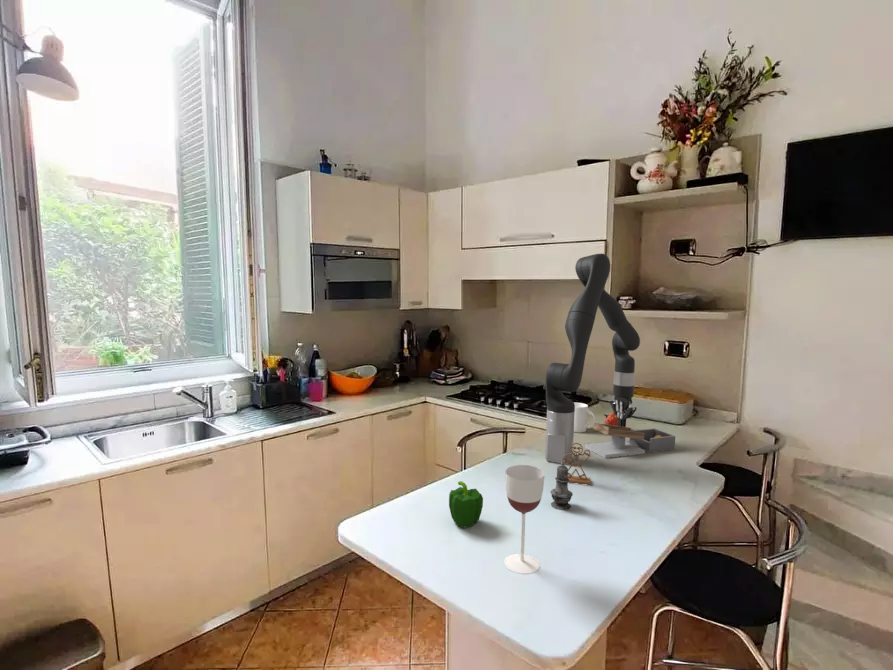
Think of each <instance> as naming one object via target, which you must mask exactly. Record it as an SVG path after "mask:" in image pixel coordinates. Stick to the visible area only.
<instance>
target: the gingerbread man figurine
mask: <svg viewBox="0 0 893 670" xmlns="http://www.w3.org/2000/svg"><path fill="white" fill-rule="evenodd" d="M574 445H578V447H576V446H574ZM572 446H573V447H572ZM571 448H573V451H572V449H571V452H572V453H568V454H566V455H565V456H567V455H570V454H571V455H573V458H575V459H574V460H575V462H574V463H573V462H572V461H573V460H572V458H570V459H569V460H571V462H569V460H568V459H565V458H564V457H565V456H564V457H563V460H565V461H568V462H567V463H565V462H564V461H563V463H564V465H568V464H569V463H570V466H569V467H568V479H569V481H568V482H571V483H570V484H574V483H578V484H577V485H582V484H587V485H586V486H591V477H588V476H587V474H586V473H585V471H584V470H583V467H582V462H585V461H588V459H590V457H591V450H589V449H584V447H583V445H582V444H581V443H579V442H573V444H572V445H571ZM576 449H577V450H578V451H576ZM583 450H584V451H583ZM587 452H588V453H587ZM584 455H585V456H587V457H586V458H584V459H580V460H579V461H580V464H578V462H577V461H578V458H580V456H581V457H582V456H584ZM572 467H577V468H580V470H581V471H582V473H583V474H580V473H579V471H578V469H577V468H574V470H573V472H572V473H570V472H569V471H570V469H571V468H572ZM575 472H576V473H577V475H578V476H577V475H574V474H575Z"/></svg>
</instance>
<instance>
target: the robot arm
mask: <svg viewBox="0 0 893 670" xmlns="http://www.w3.org/2000/svg"><path fill="white" fill-rule="evenodd" d="M574 269H575V275H577V278H578V279H579V281H580V282H581V284H582V286H583V287H584V289H583V290H582V292H580V294H579V296H578V297H577V298H576V299H575V301H574V302H573V303H572V304H571V306H570V307H569V310H568V314H567V317H566V321H565V325H564V329H565V333H566V336H567V339H568V342H569V344H570V348H571V359H570V363H561V362H551V363H550V364H549V365H548V366H547V368H546V371H545V372H546V373H545V403H546V426H545V428H546V429H545V455H544V456H545V457H546V458H545V457H544V458H545V460H546V462H548V461H552V462H551V463H554V462H557V463H556V464H560V463H563V461H564V462H565V463H567V462H568V461H565V460H563V457H564V456H565V455H566V454H568V453H572V452H571V449H572V451H573V450H574V449H573V448H571V445H572V444H573V443H574V433H575V432H574V415H575V404H574V403H575V402H574V401H572V400H571V399H569V398H567V396H565V394H564V393H563V392H566V393H567V392H568V393H575V392H577V391H578V389H579V388H580V385H581V382H582V378H583V373H584V366H585V361H586V355H587V354H586V353H587V352H588V351H587V349H588V346H589V342H590V338H591V334H592V332H593V328H594V324H595V320H596V316H597V311H598V309H600V312H601V314H602V316H603V318H604V320H605V322H606V324H607V327H608V328H609V329H610V330H611V331H613V332H615V333H614V334H613V336H612V341H611V345H612V351H613V356H614V359H615V360H614V373H613V374H614V375H613V383H612V384H613V388H612V394H613V396H614V398H613V400H610V401H609V403H610V406H611V409H612V411H613V412H612V413H614V414H615V415H617V417H618V426H621V427H627V419H631V418H632V416H633V415H634V414H635V412H636V411H637V407H635V406H634V405H633V399H632V398H633V397H634V395H635V378H636V377H635V367H636V365H635V364H636V363H635V358H634V357H632V356H631V355H630V353H629V352H632V351H637V350H638V348H639V347H640V345H641V344H640V343H641V337H640V336H639V333H638V331H637V330H636V329H635V328H634V326H633V325H632V324H631V322H630V321H628V319H627V317H626V315H625V312H624V310H623V307H622V306H621V304H620V303H619V301H617V299H615V298H614V297H613V296H612V295H611V294H610V293H608V291H606V290H605V286H606V284H607V281H608V278H609V275H610V272H611V262H610V258H609V257H608V255H607V254H605V253H595V254H591V255H586V256H583V257H579V259H577V260H576V262H575V267H574ZM572 447H574V445H573V446H572ZM573 452H574V451H573ZM564 458H565V459H568V460H569V459H570V458H572V461H574V460H573V458H574V455H571V454H570V455H567V456H565V457H564ZM569 463H571V460H569Z"/></svg>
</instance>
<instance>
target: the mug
mask: <svg viewBox="0 0 893 670" xmlns="http://www.w3.org/2000/svg"><path fill="white" fill-rule="evenodd" d="M574 404H575V415H574V433H578V434H579V433H586V431H587V430H588V429H591V428H594V426H595V423H596V416H595V414H594V413H593V411H591V410H590V409H589V405H588V404H586V403H583V402H574ZM588 415H590V416H592V418H593V423H592V424H588Z"/></svg>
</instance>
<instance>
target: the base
mask: <svg viewBox="0 0 893 670" xmlns="http://www.w3.org/2000/svg"><path fill="white" fill-rule="evenodd" d="M584 448H585V449H586V450H589V451H590V452H592V451H593V453H594V452H595V453H594V454H596V453H597V454H596V455H598V456H600V457H602V458H604V459H611V458H610V457H612V458H618V457H619V456H621V457H627V455H629V456H636V454H638V455H645V454H646V451H645V450H643V449H641V448H639V447H636V446H634V445H632V444H630V443H629V442H627V441H626V437H619V436H611V441H605V442H595V443H585V444H584ZM644 453H645V454H644Z"/></svg>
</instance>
